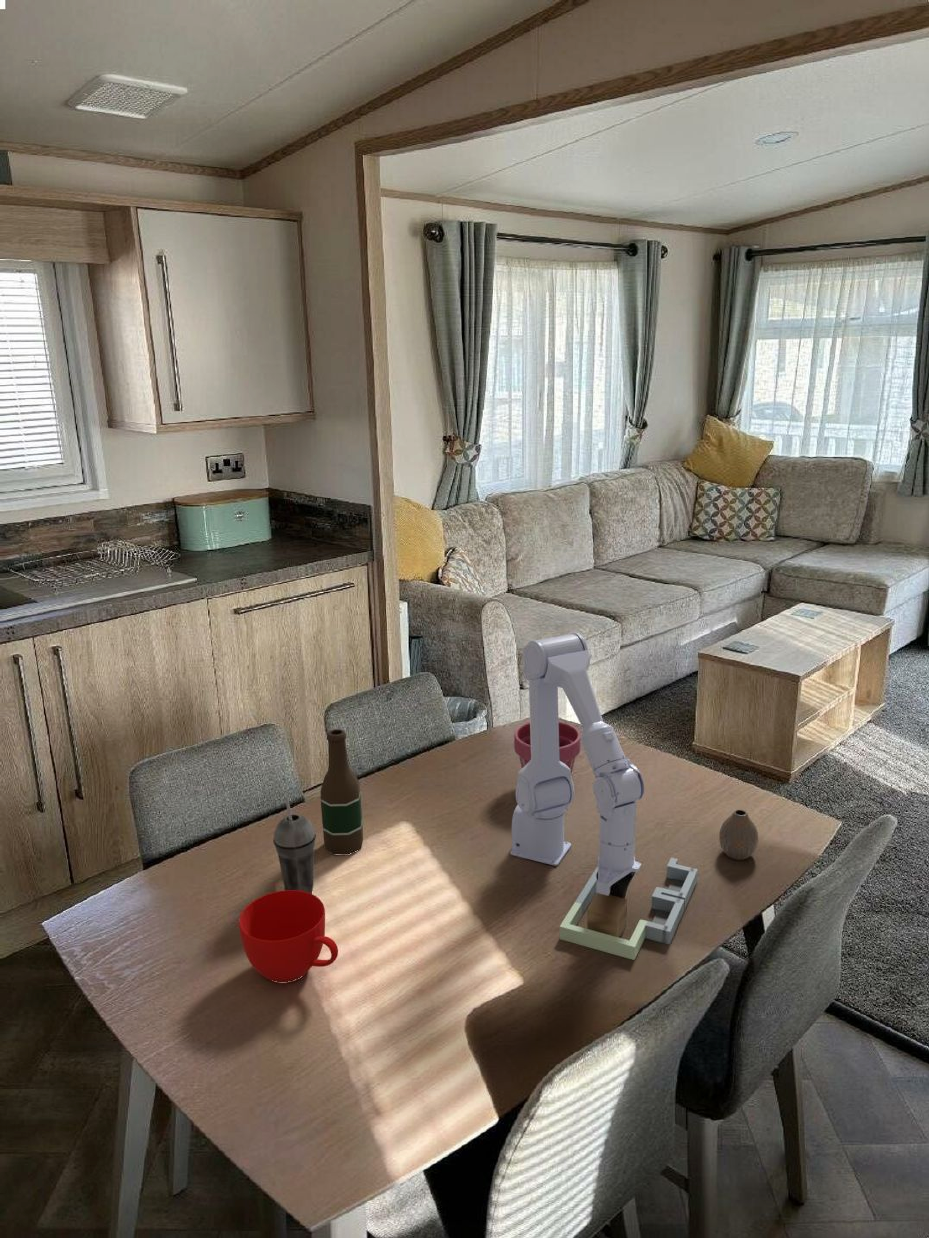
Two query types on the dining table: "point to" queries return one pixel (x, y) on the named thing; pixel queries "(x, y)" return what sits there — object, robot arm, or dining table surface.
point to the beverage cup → (295, 851)
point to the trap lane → (659, 929)
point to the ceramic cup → (285, 934)
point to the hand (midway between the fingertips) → (614, 908)
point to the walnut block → (607, 915)
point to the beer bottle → (340, 800)
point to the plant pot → (567, 744)
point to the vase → (738, 836)
